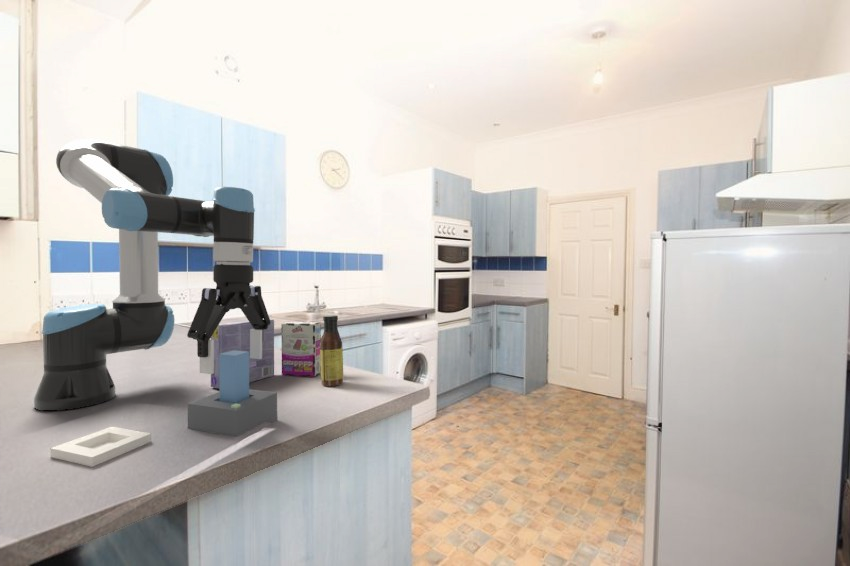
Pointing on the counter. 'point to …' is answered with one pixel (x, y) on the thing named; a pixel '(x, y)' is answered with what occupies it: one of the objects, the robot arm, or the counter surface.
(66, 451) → the holster
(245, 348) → the cake pan box
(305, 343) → the candy bar box
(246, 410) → the port
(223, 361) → the plug
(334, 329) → the sauce bottle
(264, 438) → the counter surface
